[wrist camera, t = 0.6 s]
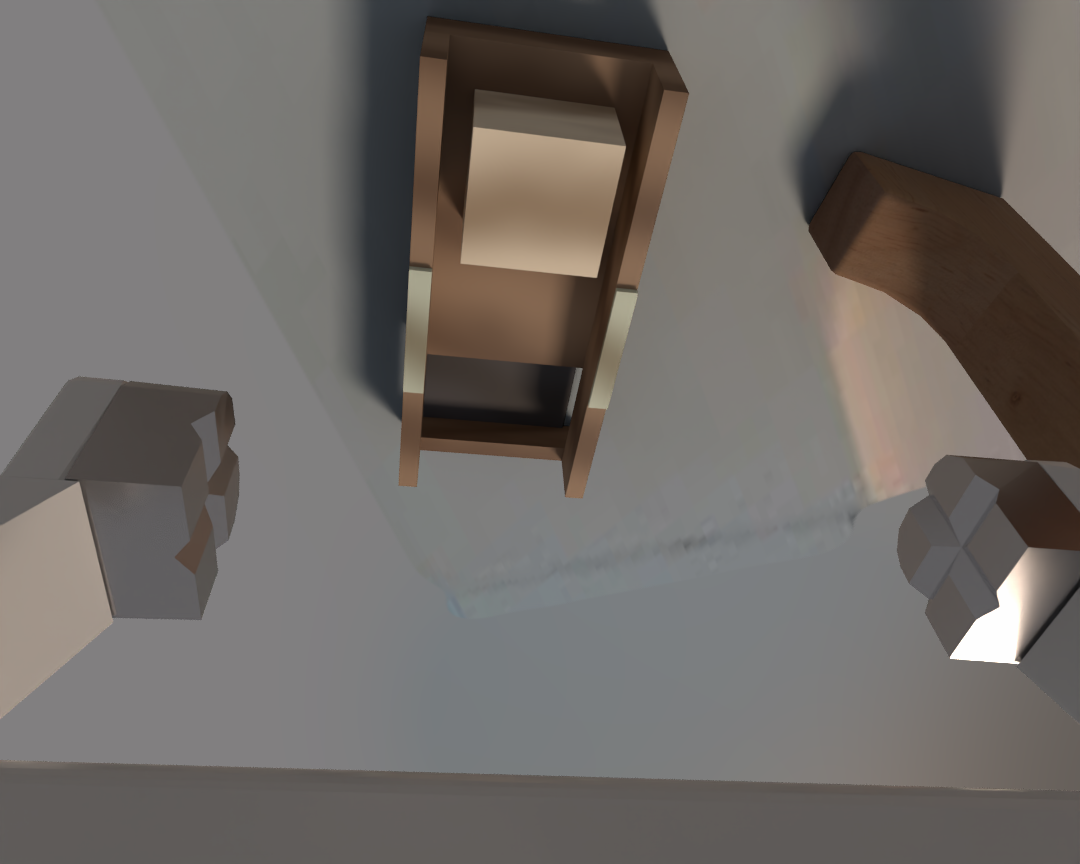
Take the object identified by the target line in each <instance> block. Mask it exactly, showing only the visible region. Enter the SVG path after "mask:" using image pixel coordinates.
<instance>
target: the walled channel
mask: <svg viewBox="0 0 1080 864" xmlns="http://www.w3.org/2000/svg"><path fill="white" fill-rule="evenodd" d="M475 89H478V90H485V91H493V92H500V93H508V94H515V95H523V96H530V97H538V98H545V99H553V100H560V101H568V102H575V103H583V104H590V105H598V106H605V107H613V108H615V111H616V114H617V117H618V121H619V124H620V127H621V131H622V134H623V138H624V141H625V144H626V149H625V154H624V158H623V163H622V167H621V172H620V176H619V181H618V185H617V190H616V194H615V199H614V203H613V207H612V212H611V216H610V221H609V225H608V230H607V234H606V239H605V243H604V248H603V252H602V257H601V261H600V266H599V270H598V275H597V278H593V277H583V276H574V275H564V274H555V273H545V272H536V271H527V270H517V269H508V268H498V267H489V266H479V265H470V264H460V263H461V242H462V222H463V210H464V199H465V189H466V178H467V168H468V157H469V146H470V136H471V125H472V114H473V104H474V93H475ZM688 95H689V92H688V90H687V88H686V86H685V84H684V82H683V80H682V78H681V76H680V74H679V72H678V70H677V67H676V65H675V63H674V61H673V59H672V57H671V55H670V53H669V51H665V50H658V49H651V48H644V47H637V46H630V45H623V44H616V43H609V42H602V41H596V40H589V39H582V38H575V37H568V36H561V35H554V34H547V33H540V32H533V31H526V30H519V29H512V28H505V27H498V26H492V25H485V24H478V23H471V22H464V21H457V20H450V19H443V18H436V17H429V16H427V21H426V27H425V32H424V38H423V43H422V48H421V54H420V68H419V88H418V108H417V128H416V148H415V168H414V188H413V208H412V228H411V248H410V267H409V282H408V302H407V322H406V342H405V363H404V383H403V408H402V428H401V448H400V468H399V486H412V487H417V479H418V468H419V457H420V450H428V451H441V452H454V453H468V454H481V455H494V456H507V457H521V458H534V459H547V460H560V461H562V468H563V479H564V490H565V497H570V498H583V494H584V490H585V487H586V483H587V479H588V475H589V472H590V468H591V464H592V460H593V456H594V453H595V449H596V445H597V441H598V437H599V434H600V430H601V426H602V422H603V418H604V415H605V411H606V409H608V405H609V402H610V398H611V394H612V390H613V387H614V383H615V379H616V375H617V371H618V368H619V364H620V360H621V356H622V353H623V349H624V345H625V341H626V338H627V334H628V330H629V326H630V322H631V319H632V315H633V311H634V307H635V304H636V300H637V296H638V291H637V289H638V285H639V282H640V278H641V274H642V270H643V266H644V263H645V259H646V255H647V251H648V247H649V244H650V240H651V236H652V232H653V228H654V225H655V221H656V217H657V213H658V209H659V206H660V202H661V198H662V194H663V190H664V187H665V183H666V179H667V175H668V171H669V168H670V164H671V160H672V156H673V152H674V149H675V145H676V141H677V137H678V133H679V130H680V126H681V122H682V118H683V114H684V111H685V107H686V103H687V99H688ZM426 360H427V366H426ZM576 367H577V368H583V370H582V375H581V379H580V383H579V388H578V392H577V396H576V401H575V405H574V410H573V414H572V418H571V423H570V426H563V424H564V419H565V415H566V410H567V406H568V401H569V397H570V392H571V388H572V383H573V379H574V374H575V370H576ZM425 374H426V380H425ZM424 388H425V394H424ZM423 402H424V408H423Z"/></svg>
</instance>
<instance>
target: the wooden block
mask: <svg viewBox="0 0 1080 864" xmlns="http://www.w3.org/2000/svg"><path fill="white" fill-rule="evenodd" d="M809 233H810V234H811V236H812V238H813V240H814V241H815V243H816V245H817V247H818V248H819V250H820V252H821V253H822V255H823V257H824V259H825V260H826V262H827V264H828V266H829V267H830V269H831V270H832V271H833V272H834V273H835V274H837V275H840V276H842V277H845V278H848V279H850V280H853V281H856V282H859V283H861V284H864V285H867V286H869V287H872V288H875V289H877V290H880V291H883V292H885V293H886V294H888V295H889V296H891V297H892V298H894V299H895V300H897V301H898V302H900V303H901V304H903V305H905V306H906V307H908V308H909V309H911V310H912V311H914V312H915V313H917V314H918V315H920V316H921V317H922V318H923V319H924V320H925V321H926V322H927V323H928V324H929V325H930V326H931V327H932V328H933V329H934V330H935V331H936V332H937V333H938V334H939V335H940V336H941V337H942V339H943V340H944V341H945V342H946V343H947V345H948V346H949V348H950V349H951V350H952V352H953V353H954V355H955V356H956V358H957V359H958V361H959V362H960V363H961V365H962V366H963V368H964V369H965V371H966V372H967V374H968V375H969V376H970V378H971V379H972V381H973V382H974V384H975V385H976V387H977V388H978V389H979V391H980V392H981V394H982V395H983V397H984V398H985V400H986V401H987V402H988V404H989V405H990V407H991V408H992V410H993V411H994V413H995V414H996V415H997V417H998V418H999V420H1000V421H1001V423H1002V424H1003V426H1004V427H1005V428H1006V430H1007V431H1008V433H1009V434H1010V436H1011V437H1012V439H1013V440H1014V441H1015V443H1016V444H1017V446H1018V447H1019V449H1020V450H1021V452H1022V453H1023V454H1024V456H1025V457H1026V459H1027V460H1037V461H1055V462H1067V463H1069V464H1071V465H1073V466H1075V467H1077V468H1079V469H1080V275H1079V274H1078V273H1077V272H1076V271H1075V270H1074V269H1073V268H1072V267H1071V266H1070V265H1069V264H1068V263H1067V262H1066V261H1065V260H1064V259H1063V258H1062V257H1061V256H1060V255H1059V254H1058V253H1057V252H1056V251H1055V250H1054V249H1053V248H1052V247H1051V246H1050V245H1049V244H1048V243H1047V242H1046V241H1045V240H1044V239H1043V238H1042V237H1041V236H1040V235H1039V234H1038V233H1037V232H1036V231H1035V230H1034V229H1033V228H1032V227H1031V226H1030V225H1029V224H1028V223H1027V222H1026V221H1025V220H1024V219H1023V218H1022V217H1021V216H1020V215H1019V214H1018V213H1017V212H1016V211H1015V210H1014V209H1013V208H1012V207H1011V206H1010V205H1009V204H1008V203H1007V202H1006V201H1005V200H1004V199H1002V198H999V197H996V196H993V195H990V194H987V193H984V192H981V191H978V190H975V189H972V188H969V187H966V186H963V185H960V184H957V183H954V182H951V181H948V180H945V179H942V178H939V177H936V176H933V175H930V174H927V173H924V172H921V171H918V170H915V169H912V168H908V167H905V166H902V165H899V164H896V163H893V162H890V161H887V160H884V159H881V158H878V157H875V156H872V155H869V154H866V153H863V152H853V153H852V154H851V155H850V156H849V158H848V160H847V161H846V163H845V165H844V166H843V168H842V170H841V171H840V173H839V175H838V176H837V178H836V180H835V182H834V183H833V185H832V187H831V188H830V190H829V192H828V193H827V195H826V197H825V199H824V200H823V202H822V204H821V205H820V207H819V209H818V210H817V212H816V214H815V216H814V217H813V219H812V221H811V222H810V225H809Z"/></svg>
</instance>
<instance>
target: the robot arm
mask: <svg viewBox="0 0 1080 864" xmlns="http://www.w3.org/2000/svg"><path fill="white" fill-rule="evenodd" d="M234 426H235V418H234V410H233V402H232V398H231V396H230V395H229V394H228V392H227V391H218V390H208V389H198V388H189V387H179V386H171V385H161V384H153V383H152V384H151V383H143V382H134V381H130V382H126V381H123V380H112V379H101V378H89V377H77V378H74V379H71V380H69V381H68V382H67V383H66V384H65V385H64V386H63V388H62V389H61V391H60V392H59V393H58V395H57V396H56V398H55V399H54V400H53V402H52V403H51V405H50V406H49V407H48V409H47V410H46V412H45V413H44V415H43V416H42V417H41V419H40V420H39V422H38V423H37V425H36V426H35V427H34V429H33V430H32V431H31V433H30V434H29V436H28V437H27V438H26V440H25V441H24V443H23V444H22V445H21V447H20V448H19V450H18V451H17V452H16V454H15V455H14V457H13V458H12V460H11V461H10V462H9V464H8V465H7V467H6V468H5V469H4V471H3V472H2V474H1V475H0V719H1V718H2V717H3V716H4V715H6V714H7V713H8V712H9V711H10V710H12V709H13V708H14V707H15V706H16V705H17V704H19V703H20V702H21V701H22V700H23V699H24V698H25V697H27V696H28V695H29V694H30V693H31V692H33V691H34V690H35V689H36V688H37V687H38V686H40V685H41V684H42V683H43V682H44V681H45V680H47V679H48V678H49V677H50V676H51V675H52V674H53V673H55V672H56V671H57V670H58V669H59V668H61V667H62V666H63V665H64V664H65V663H66V662H68V661H69V660H70V659H71V658H72V657H73V656H75V655H76V654H77V653H78V652H79V651H80V650H82V649H83V648H84V647H85V646H86V645H87V644H89V643H90V642H91V641H92V640H93V639H94V638H96V637H97V636H98V635H99V634H100V633H101V632H102V631H104V630H105V629H106V628H107V627H108V626H110V625H111V624H112V623H113V619H112V618H145V619H187V620H201V619H202V616H203V613H204V610H205V607H206V604H207V602H208V598H209V596H210V593H211V590H212V587H213V584H214V581H215V578H216V576H217V573H218V568H217V557H216V549H217V548H218V547H220V546H221V545H222V544H224V543H225V542H226V541H228V540H229V536H230V534H231V531H232V527H233V524H234V521H235V516H236V510H237V504H238V497H239V476H240V475H239V461H238V456H237V455H236V454H235V453H234V452H233V451H232V450H231V448H230V447H229V446H228V442H229V439H230V437H231V434H232V431H233V428H234ZM925 482H926V486H927V489H928V493H929V496H927V497H926V498H924V499H923V500H921V501H920V502H918V503H917V504H915V505H914V506H912V507H911V508H909V510H908V512H907V514H906V516H905V518H904V520H903V522H902V524H901V526H900V528H899V534H898V546H897V553H898V557H899V562H900V566H901V569H902V570H903V573H904V574H905V577H906V578H907V580H908V582H909V584H910V585H912V586H913V587H914V588H916V589H917V590H918V591H919V592H921V593H922V594H923V595H925V596H926V597H927V598H928V599H929V600H928V604H927V607H926V610H925V614H926V616H927V617H928V619H929V621H930V623H931V625H932V627H933V629H934V630H935V632H936V634H937V636H938V638H939V639H940V641H941V643H942V645H943V647H944V649H945V650H946V652H947V654H948V656H949V658H954V659H966V660H979V661H991V662H1004V663H1017V664H1018V666H1017V668H1019V669H1020V670H1021V671H1022V672H1023V673H1024V674H1025V675H1026V676H1027V677H1028V678H1030V679H1031V680H1032V681H1033V682H1034V683H1035V684H1036V685H1037V686H1038V687H1039V688H1040V689H1041V690H1043V691H1044V692H1045V693H1046V694H1047V695H1048V696H1049V697H1050V698H1051V699H1052V700H1053V701H1054V702H1056V703H1057V704H1058V705H1059V706H1060V707H1061V708H1062V709H1063V710H1064V711H1065V712H1066V713H1068V714H1069V715H1070V716H1071V717H1072V718H1073V719H1074V720H1075V721H1076V722H1077V723H1079V724H1080V469H1079V468H1077V467H1075V466H1073V465H1071V464H1069V463H1067V462H1055V461H1037V460H1025V461H1018V460H1005V459H992V458H980V457H967V456H954V455H946V456H944V457H943V458H942V459H941V460H939V461H938V462H937V463H936V464H935V465H934V466H933V468H932V470H931V471H930V473H929V475H928V477H927V478H926V480H925ZM0 864H1080V791H1070V790H1067V791H1066V790H1033V789H996V788H960V787H924V786H887V785H885V786H884V785H851V784H817V783H783V782H781V783H780V782H748V781H714V780H713V781H712V780H677V779H676V780H675V779H644V778H609V777H574V776H540V775H505V774H504V775H503V774H469V773H468V774H467V773H435V772H432V773H431V772H399V771H363V770H328V769H294V768H293V769H292V768H258V767H255V768H254V767H222V766H187V765H186V766H185V765H152V764H151V765H150V764H117V763H115V764H114V763H79V762H47V761H45V762H44V761H11V760H9V761H8V760H0Z"/></svg>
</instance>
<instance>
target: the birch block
mask: <svg viewBox="0 0 1080 864" xmlns="http://www.w3.org/2000/svg"><path fill="white" fill-rule="evenodd" d="M625 149H626V144H625V141H624V138H623V134H622V131H621V127H620V124H619V121H618V117H617V114H616V111H615V108H613V107H605V106H598V105H590V104H583V103H575V102H568V101H560V100H553V99H545V98H538V97H530V96H523V95H515V94H508V93H500V92H493V91H485V90H478V89H475V93H474V104H473V114H472V125H471V136H470V146H469V157H468V168H467V178H466V189H465V199H464V210H463V222H462V242H461V263H460V264H470V265H479V266H489V267H498V268H508V269H517V270H527V271H536V272H545V273H555V274H564V275H574V276H583V277H593V278H597V275H598V270H599V266H600V261H601V257H602V252H603V248H604V243H605V239H606V234H607V230H608V225H609V221H610V216H611V212H612V207H613V203H614V199H615V194H616V190H617V185H618V181H619V176H620V172H621V167H622V163H623V158H624V154H625Z"/></svg>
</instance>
